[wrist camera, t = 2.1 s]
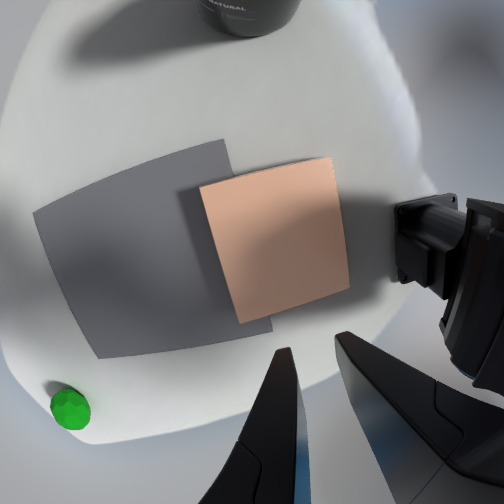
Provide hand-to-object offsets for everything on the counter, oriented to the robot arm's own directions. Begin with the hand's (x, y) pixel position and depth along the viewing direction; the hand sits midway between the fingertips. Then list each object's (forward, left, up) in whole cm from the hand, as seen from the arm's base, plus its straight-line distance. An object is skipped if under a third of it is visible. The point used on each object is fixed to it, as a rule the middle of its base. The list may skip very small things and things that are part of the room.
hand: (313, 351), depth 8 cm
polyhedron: (+25, +13, -12) cm, 31 cm away
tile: (+3, 0, -10) cm, 11 cm away
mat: (+9, 0, -12) cm, 15 cm away
